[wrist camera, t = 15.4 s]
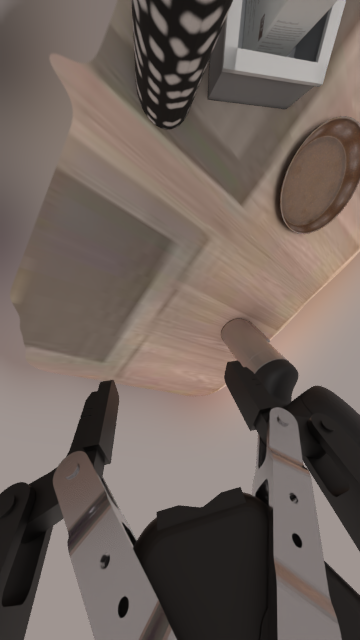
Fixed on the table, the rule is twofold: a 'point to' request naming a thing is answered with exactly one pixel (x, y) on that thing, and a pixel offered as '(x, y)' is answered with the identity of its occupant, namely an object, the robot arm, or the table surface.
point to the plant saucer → (321, 176)
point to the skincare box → (280, 23)
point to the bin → (269, 63)
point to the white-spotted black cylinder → (173, 53)
